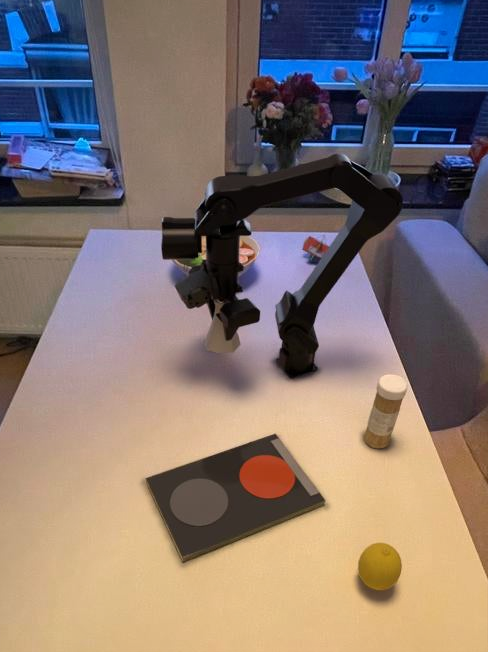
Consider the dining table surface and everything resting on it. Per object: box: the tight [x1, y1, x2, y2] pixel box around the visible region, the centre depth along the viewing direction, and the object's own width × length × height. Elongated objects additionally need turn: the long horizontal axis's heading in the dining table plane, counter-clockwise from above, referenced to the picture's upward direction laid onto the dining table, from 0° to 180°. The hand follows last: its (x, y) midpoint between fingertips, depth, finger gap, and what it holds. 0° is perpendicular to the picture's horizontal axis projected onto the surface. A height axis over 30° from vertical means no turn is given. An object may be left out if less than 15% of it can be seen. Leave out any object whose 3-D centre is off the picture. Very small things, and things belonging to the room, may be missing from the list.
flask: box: [204, 300, 241, 354], centre depth 100 cm, size 7×7×10 cm
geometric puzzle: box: [301, 234, 330, 264], centre depth 138 cm, size 7×7×8 cm
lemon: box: [357, 542, 403, 591], centre depth 70 cm, size 6×6×8 cm
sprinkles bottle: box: [363, 373, 408, 449], centre depth 88 cm, size 5×5×14 cm
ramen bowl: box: [171, 235, 261, 277], centre depth 132 cm, size 25×23×8 cm
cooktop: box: [145, 433, 326, 563], centre depth 84 cm, size 24×16×2 cm, turn 115°
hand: (222, 332), depth 101 cm, fingers closed on flask, 5 cm apart
